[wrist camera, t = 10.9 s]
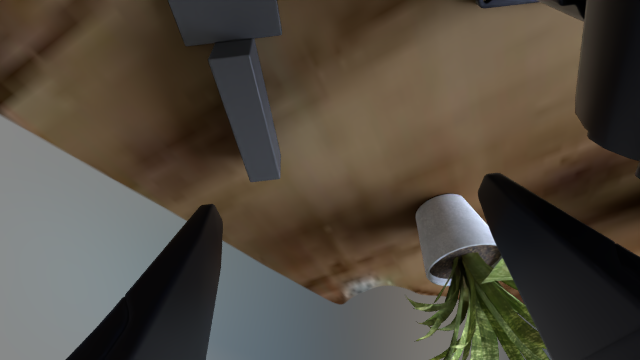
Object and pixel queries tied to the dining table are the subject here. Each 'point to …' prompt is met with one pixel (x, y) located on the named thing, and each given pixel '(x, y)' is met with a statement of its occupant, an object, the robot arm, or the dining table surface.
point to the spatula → (238, 71)
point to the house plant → (472, 285)
